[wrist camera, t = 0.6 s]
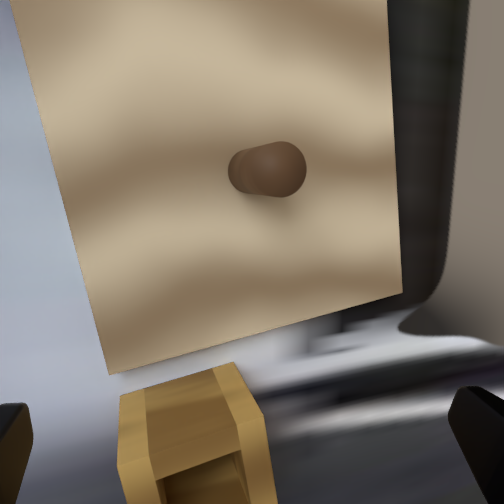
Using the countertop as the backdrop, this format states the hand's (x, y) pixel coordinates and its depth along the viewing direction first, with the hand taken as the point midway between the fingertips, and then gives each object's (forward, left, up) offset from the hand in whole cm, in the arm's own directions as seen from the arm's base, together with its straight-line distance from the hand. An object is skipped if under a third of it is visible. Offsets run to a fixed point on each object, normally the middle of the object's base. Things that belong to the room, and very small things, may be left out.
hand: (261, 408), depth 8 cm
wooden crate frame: (-8, +1, -12) cm, 15 cm away
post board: (+5, -4, -12) cm, 13 cm away
